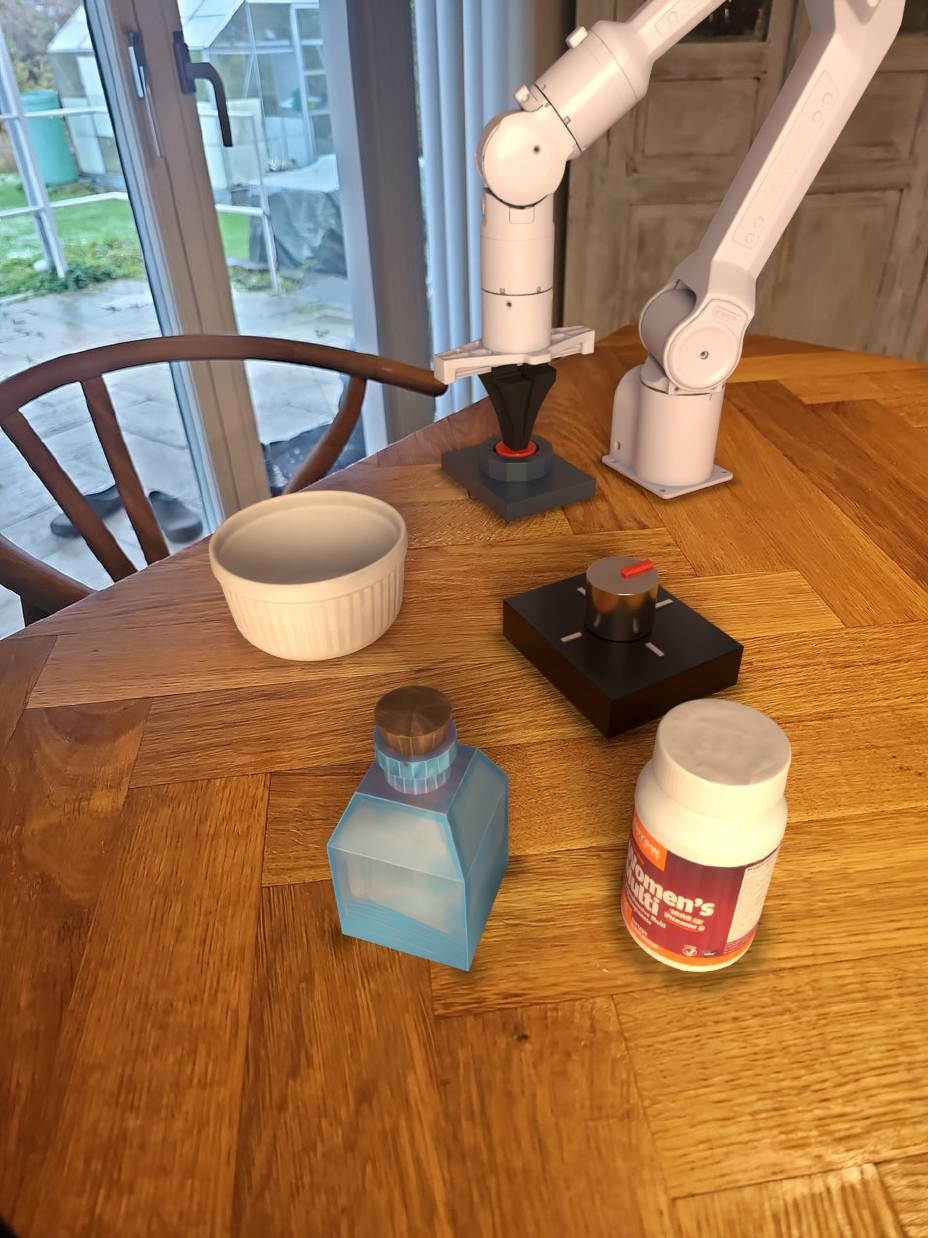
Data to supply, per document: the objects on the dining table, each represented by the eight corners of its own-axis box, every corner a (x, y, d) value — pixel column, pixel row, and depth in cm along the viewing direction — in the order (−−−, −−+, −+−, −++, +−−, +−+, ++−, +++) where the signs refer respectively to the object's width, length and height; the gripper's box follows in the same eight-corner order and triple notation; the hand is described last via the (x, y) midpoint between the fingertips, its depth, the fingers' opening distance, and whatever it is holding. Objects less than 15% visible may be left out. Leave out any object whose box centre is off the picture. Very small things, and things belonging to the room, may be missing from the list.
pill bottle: (594, 925, 39) (612, 748, 33) (660, 843, 43) (688, 670, 37) (717, 1005, 36) (763, 825, 30) (777, 908, 40) (830, 730, 33)
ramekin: (239, 574, 66) (222, 493, 62) (409, 562, 66) (403, 481, 62) (213, 683, 55) (190, 593, 51) (417, 667, 56) (410, 577, 51)
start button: (488, 461, 77) (488, 443, 76) (522, 452, 78) (522, 434, 77) (508, 476, 74) (508, 457, 73) (543, 466, 75) (544, 448, 74)
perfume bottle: (508, 863, 42) (509, 677, 35) (468, 971, 38) (460, 781, 31) (394, 834, 44) (373, 651, 37) (342, 933, 39) (308, 745, 32)
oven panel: (502, 635, 58) (502, 597, 56) (620, 593, 62) (623, 556, 60) (607, 740, 49) (611, 698, 48) (737, 684, 53) (745, 644, 51)
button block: (441, 470, 80) (439, 435, 78) (522, 449, 83) (523, 415, 81) (507, 522, 71) (507, 484, 69) (594, 496, 75) (597, 460, 73)
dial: (611, 649, 51) (616, 597, 49) (569, 614, 55) (572, 564, 52) (668, 627, 53) (674, 576, 51) (624, 594, 56) (629, 545, 54)
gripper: (460, 312, 62) (465, 482, 69) (621, 283, 67) (609, 443, 75) (418, 291, 67) (427, 452, 75) (570, 266, 72) (564, 418, 80)
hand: (515, 446), depth 75 cm, fingers closed, pressing on start button
